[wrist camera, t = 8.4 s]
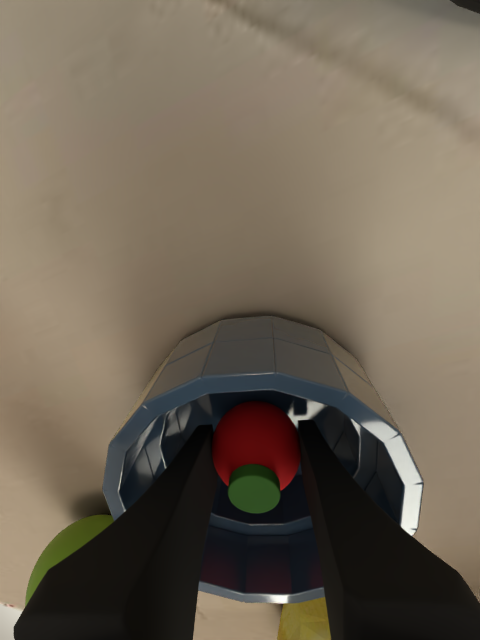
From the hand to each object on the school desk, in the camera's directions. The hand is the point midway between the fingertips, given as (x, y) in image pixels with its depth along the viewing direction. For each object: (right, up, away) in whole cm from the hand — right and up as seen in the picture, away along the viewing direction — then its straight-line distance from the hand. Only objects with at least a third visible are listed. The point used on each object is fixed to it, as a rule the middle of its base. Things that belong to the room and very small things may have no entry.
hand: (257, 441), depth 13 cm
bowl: (0, +1, +2) cm, 2 cm away
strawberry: (0, +1, +1) cm, 1 cm away
